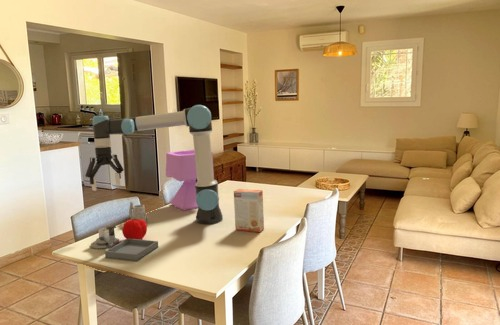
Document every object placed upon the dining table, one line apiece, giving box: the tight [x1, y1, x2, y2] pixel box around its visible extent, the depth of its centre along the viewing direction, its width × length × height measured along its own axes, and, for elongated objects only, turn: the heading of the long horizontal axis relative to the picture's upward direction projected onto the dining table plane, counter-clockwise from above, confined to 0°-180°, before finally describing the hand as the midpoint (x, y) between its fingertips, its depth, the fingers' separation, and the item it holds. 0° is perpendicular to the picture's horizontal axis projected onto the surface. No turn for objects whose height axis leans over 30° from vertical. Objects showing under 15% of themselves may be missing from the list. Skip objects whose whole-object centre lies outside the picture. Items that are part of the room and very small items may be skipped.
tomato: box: [121, 218, 148, 240], centre depth 186 cm, size 12×12×11 cm
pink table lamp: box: [165, 149, 215, 212], centre depth 246 cm, size 23×23×35 cm
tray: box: [104, 238, 159, 262], centre depth 170 cm, size 16×16×3 cm
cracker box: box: [233, 188, 265, 233], centre depth 193 cm, size 14×6×21 cm, turn 65°
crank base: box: [90, 237, 121, 250], centre depth 182 cm, size 13×13×3 cm
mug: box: [128, 201, 148, 223], centre depth 214 cm, size 8×12×12 cm, turn 59°
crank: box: [97, 224, 117, 244], centre depth 177 cm, size 15×5×8 cm, turn 39°
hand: (106, 187), depth 193 cm, fingers open, 13 cm apart
